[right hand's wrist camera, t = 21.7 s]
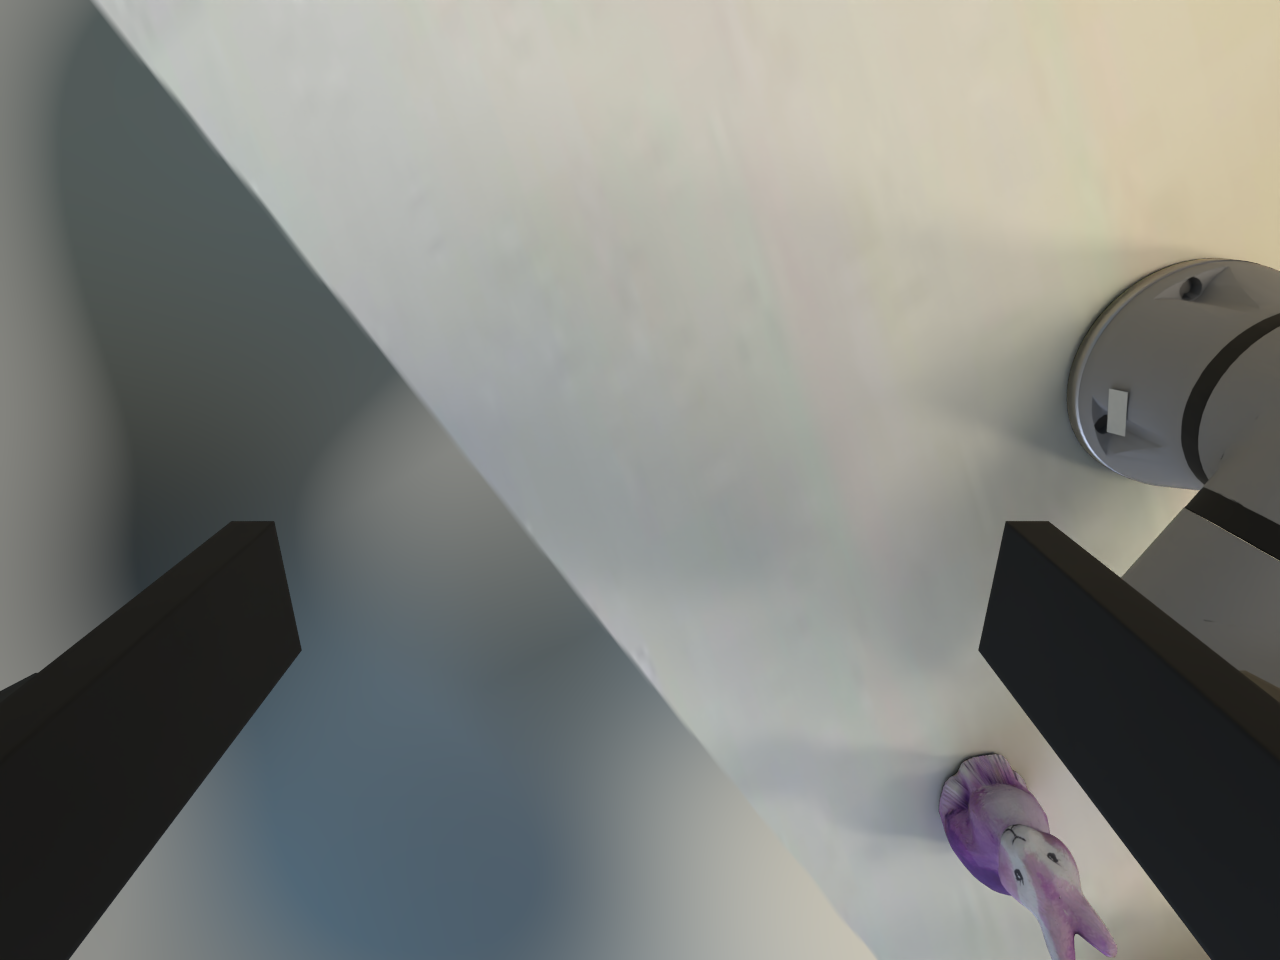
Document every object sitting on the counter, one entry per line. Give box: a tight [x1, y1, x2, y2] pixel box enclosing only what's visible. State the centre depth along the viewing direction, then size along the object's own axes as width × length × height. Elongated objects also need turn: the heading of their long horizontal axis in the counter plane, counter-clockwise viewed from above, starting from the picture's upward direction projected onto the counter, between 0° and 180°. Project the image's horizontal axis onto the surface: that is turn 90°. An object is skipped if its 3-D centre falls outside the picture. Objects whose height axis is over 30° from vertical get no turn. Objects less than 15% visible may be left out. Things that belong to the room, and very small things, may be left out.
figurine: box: [939, 754, 1117, 960], centre depth 55 cm, size 9×10×15 cm
